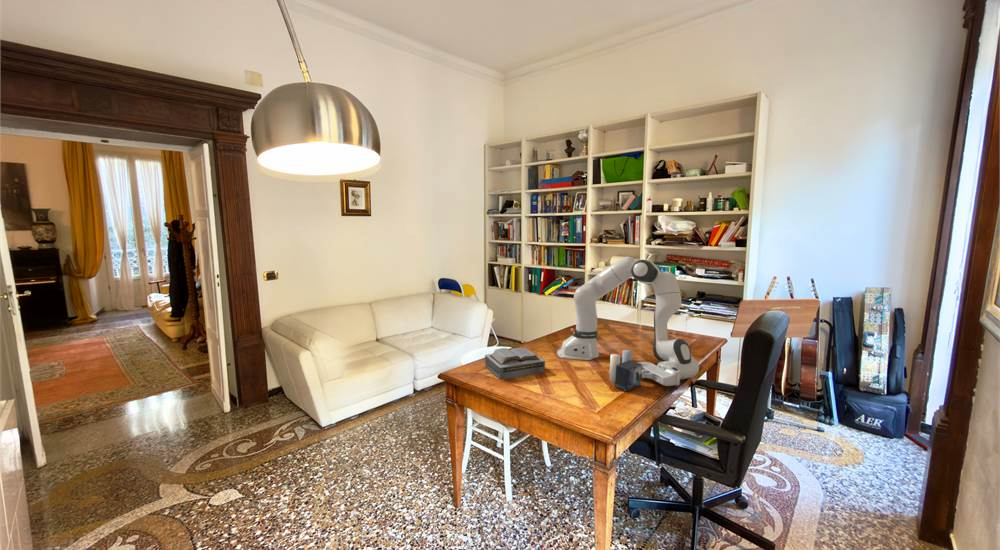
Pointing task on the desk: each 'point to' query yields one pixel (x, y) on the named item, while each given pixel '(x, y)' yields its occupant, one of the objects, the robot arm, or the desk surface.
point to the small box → (628, 375)
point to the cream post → (613, 366)
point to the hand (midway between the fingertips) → (640, 375)
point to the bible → (513, 363)
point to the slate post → (626, 355)
